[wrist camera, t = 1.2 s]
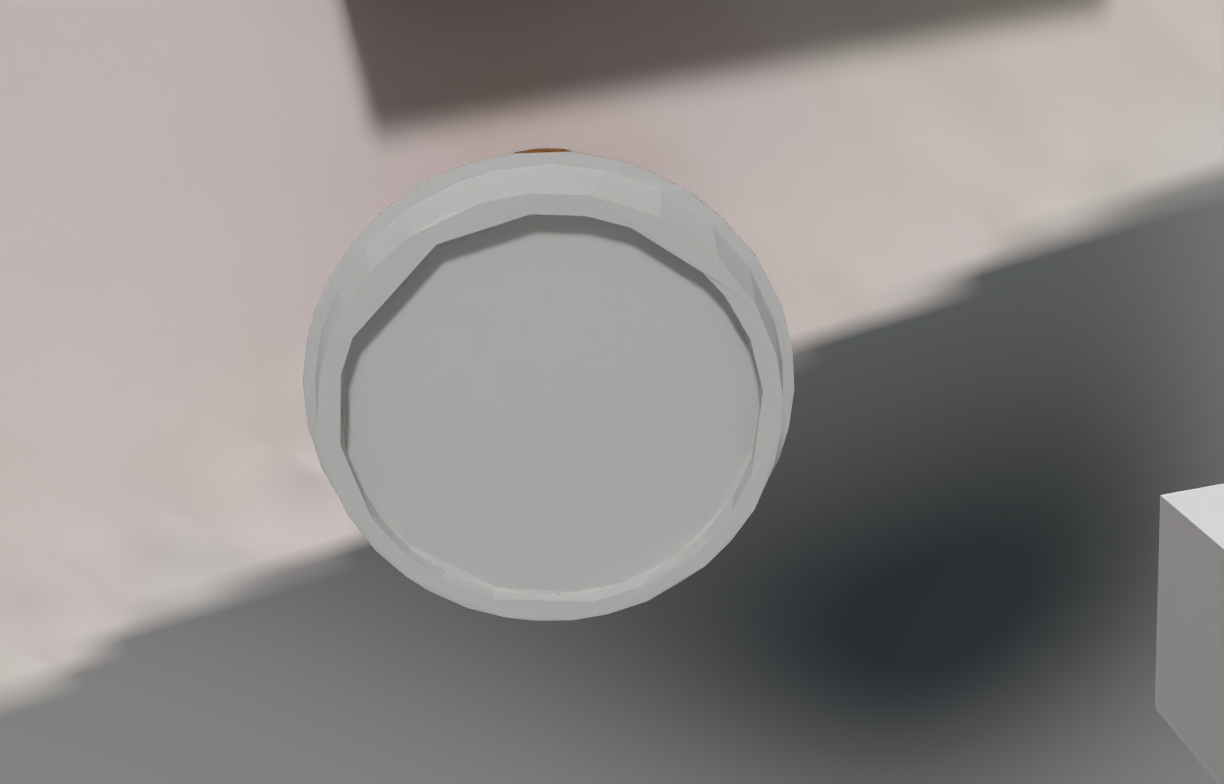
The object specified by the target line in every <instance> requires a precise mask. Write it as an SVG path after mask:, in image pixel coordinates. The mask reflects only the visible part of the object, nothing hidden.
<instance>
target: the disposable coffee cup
mask: <svg viewBox="0 0 1224 784" xmlns="http://www.w3.org/2000/svg"><path fill="white" fill-rule="evenodd" d="M303 388H304V396H305V404H306V413H307V421H308V427H309V430H310V433H311V436H312V439H313V443H314V446H315V449H316V452H317V455H318V458H319V461H320V464H321V467H322V470H323V471H324V473H325V475H326V476H327V478H328V480H329V481H330V483H331V485H332V486H333V488H334V489H335V491H336V493H337V494H338V496H339V498H340V500H341V502H342V504H343V506H344V508H345V511H346V513H347V514H348V516H349V517H350V518H351V520H352V521H353V522H354V523H355V525H356V526H357V527H358V529H359V530H360V531H361V532H362V534H363V535H364V536H365V538H366V539H367V540H368V541H369V543H370V544H371V545H372V546H373V548H374V549H375V550H376V551H377V552H378V553H379V554H380V555H382V556H383V557H384V558H385V559H386V560H387V561H389V562H390V563H391V564H392V565H393V566H395V567H396V568H397V569H398V570H399V571H400V572H402V573H403V574H404V575H405V576H407V577H408V578H410V579H411V580H413V581H414V582H416V583H417V584H419V585H421V586H422V587H424V588H425V589H427V590H429V591H431V592H433V593H435V594H437V595H439V596H442V597H444V598H446V599H448V600H451V601H453V602H455V603H458V604H460V605H462V606H464V607H466V608H470V609H474V610H478V611H482V612H486V613H490V614H494V615H498V616H502V617H506V618H514V619H524V620H533V621H554V620H555V621H557V620H577V619H583V618H588V617H594V616H600V615H606V614H610V613H613V612H616V611H619V610H622V609H625V608H628V607H631V606H634V605H637V604H640V603H643V602H646V601H648V600H650V599H652V598H654V597H656V596H658V595H659V594H661V593H663V592H665V591H666V590H668V589H670V588H672V587H673V586H676V585H677V584H679V583H680V582H681V581H683V580H685V579H686V578H688V577H689V576H691V575H692V574H694V573H695V572H697V571H698V570H700V569H701V568H703V567H705V565H707V564H708V563H709V562H710V561H711V560H712V559H713V558H714V557H715V556H716V555H717V554H718V553H719V552H720V551H721V550H722V549H723V548H724V547H725V546H726V545H727V544H728V543H729V542H730V541H731V540H732V539H733V538H734V536H735V535H736V533H737V532H738V531H739V529H740V528H741V527H742V525H743V524H744V523H745V521H746V520H747V518H748V517H749V516H750V515H751V513H752V512H753V511H754V509H755V507H756V505H757V503H758V500H759V498H760V496H761V493H762V491H763V489H764V486H765V484H766V482H767V480H768V478H769V476H770V475H771V473H772V471H773V469H774V467H775V465H776V463H777V461H778V459H779V456H780V453H781V450H782V447H783V443H784V440H785V437H786V434H787V431H788V428H789V422H790V415H791V408H792V401H793V394H794V374H793V354H792V346H791V342H790V337H789V333H788V329H787V325H786V321H785V317H784V313H783V308H782V305H781V303H780V301H779V299H778V297H777V295H776V293H775V291H774V290H773V288H772V286H771V284H770V282H769V280H768V278H767V276H766V274H765V272H764V270H763V268H762V267H761V265H760V263H759V261H758V259H757V257H756V255H755V254H754V253H753V251H752V250H751V249H750V248H749V247H748V246H747V245H746V244H745V242H744V241H743V240H742V239H741V238H740V237H739V236H738V235H737V233H736V232H735V231H734V230H733V229H732V228H731V227H730V226H729V224H728V223H727V222H726V221H725V220H724V219H723V218H722V217H721V216H720V215H719V214H717V213H716V212H715V211H714V210H712V209H711V208H710V207H709V206H707V205H706V204H705V203H704V202H703V201H701V200H700V199H699V198H698V197H696V196H695V195H693V194H692V193H690V192H689V191H687V190H686V189H684V188H683V187H681V186H679V185H677V184H675V183H673V182H671V181H669V180H667V179H665V178H663V177H661V176H659V175H657V174H655V173H653V172H651V171H648V170H645V169H643V168H640V167H637V166H635V165H632V164H629V163H625V162H622V161H619V160H614V159H609V158H604V157H599V156H594V155H589V154H583V153H578V152H573V151H569V150H565V149H549V148H546V149H531V150H526V151H521V152H516V153H513V154H505V155H501V156H498V157H494V158H490V159H486V160H483V161H479V162H475V163H471V164H468V165H464V166H461V167H458V168H456V169H453V170H450V171H447V172H445V173H442V174H439V175H438V176H436V177H434V178H432V179H431V180H429V181H427V182H425V183H424V184H422V185H420V186H418V187H417V188H415V189H414V190H413V191H411V192H410V193H408V194H407V195H406V196H404V197H403V198H401V199H400V200H398V201H397V202H396V203H394V204H393V205H391V206H390V207H389V208H387V209H386V210H385V211H383V212H382V213H381V214H380V215H379V216H378V217H377V218H376V219H375V220H374V221H373V222H372V223H371V224H370V225H369V226H368V227H367V228H366V229H365V230H364V232H363V233H362V234H361V235H360V236H359V237H358V238H357V239H356V240H355V241H354V242H353V243H352V245H351V246H350V248H349V249H348V251H347V252H346V254H345V255H344V257H343V258H342V260H341V261H340V263H339V264H338V266H337V267H336V269H335V270H334V272H333V273H332V275H331V276H330V278H329V279H328V281H327V284H326V286H325V288H324V290H323V293H322V295H321V297H320V299H319V302H318V304H317V306H316V309H315V312H314V316H313V320H312V324H311V327H310V331H309V335H308V339H307V346H306V355H305V365H304V374H303Z"/></svg>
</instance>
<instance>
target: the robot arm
mask: <svg viewBox="0 0 1224 784" xmlns="http://www.w3.org/2000/svg"><path fill="white" fill-rule="evenodd" d="M1159 532H1160V533H1159V569H1158V609H1157V610H1158V611H1157V648H1156V649H1157V650H1156V687H1155V688H1156V689H1155V708H1156V709H1157V711H1158V712H1159V713H1160V714H1161V715H1162V717H1163V718H1164V719H1165V720H1166V721H1167V722H1168V724H1169V725H1170V726H1171V727H1172V728H1173V730H1174V731H1175V732H1176V733H1177V735H1178V736H1179V737H1180V738H1181V739H1182V741H1183V742H1184V743H1185V744H1186V746H1187V747H1188V748H1189V749H1190V750H1191V752H1192V753H1193V754H1194V755H1195V756H1196V757H1197V759H1198V760H1199V761H1200V762H1201V764H1202V765H1203V766H1204V767H1205V768H1206V770H1207V771H1208V772H1209V773H1210V774H1211V775H1212V777H1213V778H1214V779H1215V780H1216V782H1217V783H1218V784H1224V484H1219V485H1213V486H1208V487H1202V488H1197V489H1192V490H1186V491H1180V492H1175V493H1170V494H1164V495H1160V530H1159Z"/></svg>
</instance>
